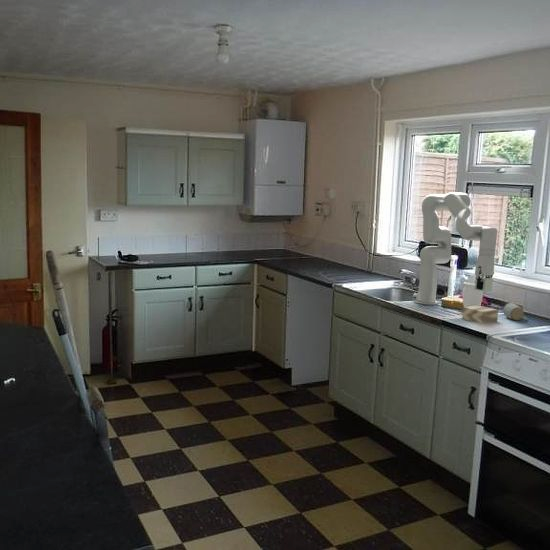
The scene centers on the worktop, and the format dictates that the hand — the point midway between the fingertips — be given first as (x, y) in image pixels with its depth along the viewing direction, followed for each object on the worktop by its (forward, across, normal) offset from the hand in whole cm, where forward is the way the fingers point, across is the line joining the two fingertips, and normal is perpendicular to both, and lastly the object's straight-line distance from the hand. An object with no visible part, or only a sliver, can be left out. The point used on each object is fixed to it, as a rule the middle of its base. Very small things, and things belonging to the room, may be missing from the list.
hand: (483, 288), depth 308 cm
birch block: (+16, 0, 0) cm, 16 cm away
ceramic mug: (+16, -20, +8) cm, 27 cm away
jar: (+16, -16, -15) cm, 27 cm away
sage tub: (+1, 0, 0) cm, 1 cm away
